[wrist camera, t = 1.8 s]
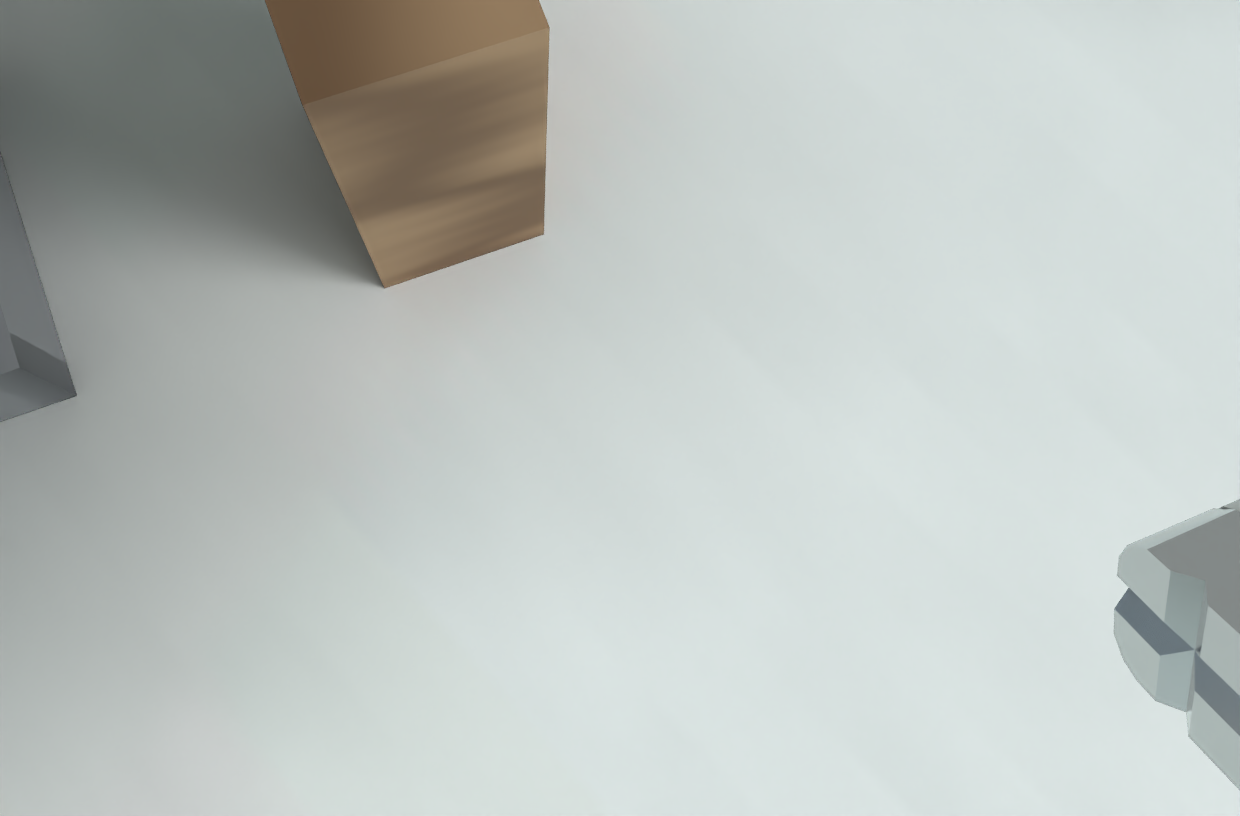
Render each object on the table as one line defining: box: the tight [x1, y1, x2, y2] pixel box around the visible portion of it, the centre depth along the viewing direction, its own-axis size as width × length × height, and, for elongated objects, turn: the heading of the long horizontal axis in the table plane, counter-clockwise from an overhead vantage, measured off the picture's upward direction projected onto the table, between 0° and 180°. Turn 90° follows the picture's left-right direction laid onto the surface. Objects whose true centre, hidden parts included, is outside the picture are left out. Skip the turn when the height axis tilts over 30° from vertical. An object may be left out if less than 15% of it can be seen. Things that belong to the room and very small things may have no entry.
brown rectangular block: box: [265, 0, 549, 288], centre depth 23 cm, size 4×6×10 cm
